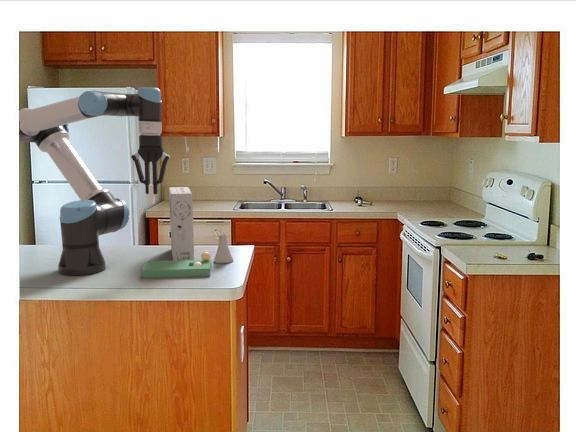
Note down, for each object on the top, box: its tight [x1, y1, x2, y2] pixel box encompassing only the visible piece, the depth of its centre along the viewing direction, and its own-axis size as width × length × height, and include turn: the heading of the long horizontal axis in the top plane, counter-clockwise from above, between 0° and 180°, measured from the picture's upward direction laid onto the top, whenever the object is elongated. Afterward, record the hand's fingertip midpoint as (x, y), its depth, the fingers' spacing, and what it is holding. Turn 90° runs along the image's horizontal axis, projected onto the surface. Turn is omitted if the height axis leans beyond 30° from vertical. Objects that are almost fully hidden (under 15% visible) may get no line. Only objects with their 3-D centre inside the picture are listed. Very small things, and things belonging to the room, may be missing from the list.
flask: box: [213, 233, 234, 264], centre depth 192 cm, size 7×7×10 cm
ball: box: [193, 262, 202, 266], centre depth 179 cm, size 3×3×3 cm
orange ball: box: [200, 251, 212, 261], centre depth 183 cm, size 3×3×3 cm
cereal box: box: [168, 186, 195, 261], centre depth 201 cm, size 22×8×25 cm, turn 14°
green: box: [141, 259, 213, 279], centre depth 178 cm, size 22×12×2 cm, turn 96°
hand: (151, 203), depth 182 cm, fingers closed
